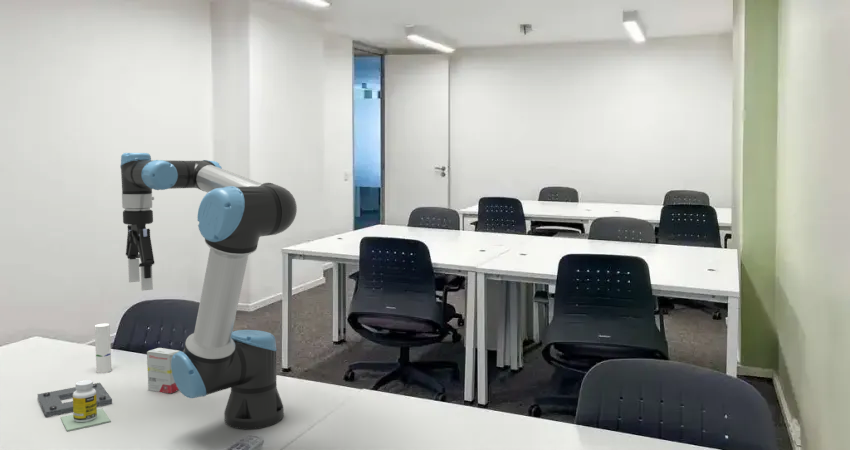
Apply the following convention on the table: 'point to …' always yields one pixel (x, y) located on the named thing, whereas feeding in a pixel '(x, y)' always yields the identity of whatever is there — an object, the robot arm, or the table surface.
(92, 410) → the supplement bottle
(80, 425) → the mat
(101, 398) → the grey mounting plate
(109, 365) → the tube
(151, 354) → the ink box
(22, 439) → the table surface
